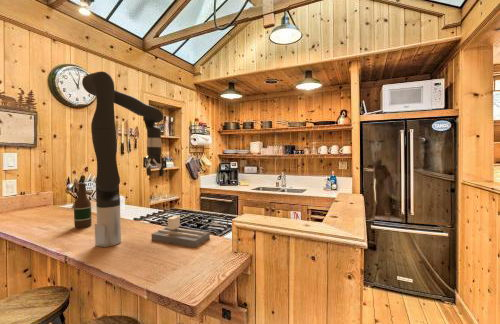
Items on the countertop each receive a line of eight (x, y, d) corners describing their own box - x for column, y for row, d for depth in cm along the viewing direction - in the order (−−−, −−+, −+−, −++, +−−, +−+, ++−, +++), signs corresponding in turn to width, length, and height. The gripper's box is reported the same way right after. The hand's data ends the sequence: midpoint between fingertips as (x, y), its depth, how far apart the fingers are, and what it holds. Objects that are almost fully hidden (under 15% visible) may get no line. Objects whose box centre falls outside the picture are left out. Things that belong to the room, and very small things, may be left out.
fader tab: (173, 233, 114) (172, 219, 114) (167, 232, 115) (167, 218, 115) (179, 230, 118) (179, 216, 118) (174, 229, 120) (174, 215, 119)
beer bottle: (83, 229, 130) (81, 184, 128) (70, 228, 131) (69, 184, 130) (95, 225, 137) (93, 182, 136) (83, 224, 139) (82, 182, 138)
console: (195, 247, 105) (195, 238, 105) (151, 240, 114) (151, 231, 114) (209, 238, 117) (209, 230, 116) (169, 232, 125) (168, 224, 125)
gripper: (139, 146, 133) (139, 176, 133) (159, 146, 127) (160, 177, 128) (149, 146, 140) (150, 174, 140) (169, 146, 134) (169, 175, 135)
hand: (154, 175), depth 134 cm, fingers open, 8 cm apart
